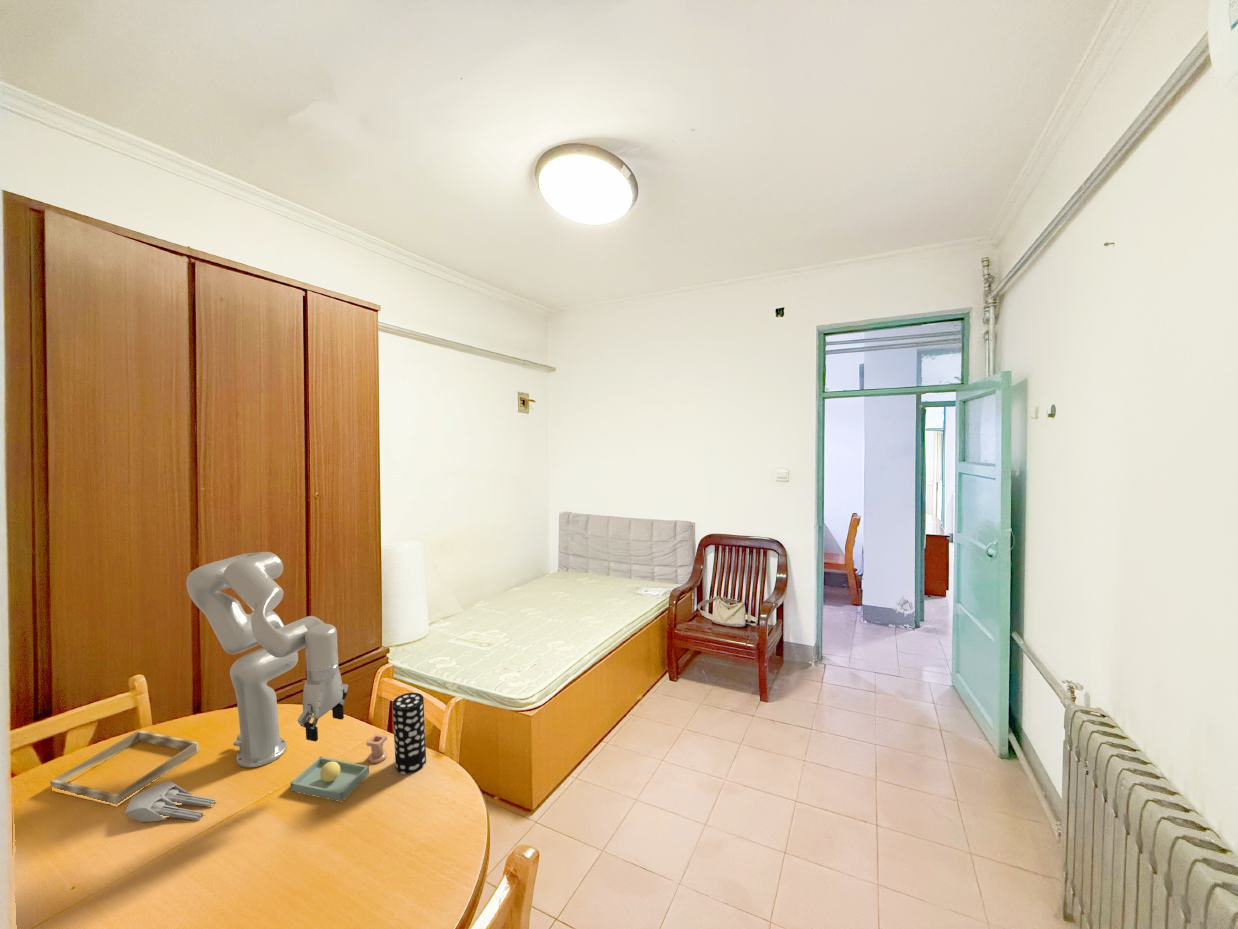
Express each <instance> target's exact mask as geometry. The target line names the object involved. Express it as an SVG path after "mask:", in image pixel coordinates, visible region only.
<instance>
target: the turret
mask: <svg viewBox="0 0 1238 929" xmlns="http://www.w3.org/2000/svg"><path fill="white" fill-rule="evenodd" d="M213 801H217V800H216V799H213V798H209V797H202V796H197V795H193V794H192V793H190V792H188V791H187V790H185V789H184V788H182V787H181V786H179V785H177V784H176V783H174V782H172V781H170V780H168V781H165V782H161V783H159V784H156V785H154V786H151V788H148V789H144V790H142V791H140V792H139V793H137V794H136V795H134V796H132V797H131V798H130V801H129V802H128V806H127V807H126V809H125V812H124V813H125V814H126V816H128V817H129V818H130V819H133V820H135V821H137V822H141V823H146V822H147V823H148V822H156V821H157V822H158V821H164V820H167V819H168V818H163V817H162V816H160V815H163V816H169V817H173V818H177V819H183V820H189V819H191V821H194V820H198V821H200V820H201V818H202V815H200V814H205V813H204V812H203V811H197V810H193V809H187V808H180V807H178V806H176V804H175V803H173V802H177V803H182V804H187V805H193V806H197V807H202V806H210V808H212V807H213V806H214V805H215V802H213ZM211 804H214V805H211ZM198 805H199V806H198ZM211 806H212V807H211ZM200 817H201V818H200Z"/></svg>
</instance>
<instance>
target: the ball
mask: <svg viewBox="0 0 1238 929" xmlns="http://www.w3.org/2000/svg"><path fill="white" fill-rule="evenodd" d="M339 774H340V765H339V764H338V763H337V762H333V761H332V762H328V763H326V764H325V765H324V766H323V767H322V769H321V771H320V777H321V779H322V780H323V781H325V782H332V781H334V780H335V779H336V778H337V777H338V776H339Z"/></svg>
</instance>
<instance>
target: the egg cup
mask: <svg viewBox="0 0 1238 929" xmlns="http://www.w3.org/2000/svg"><path fill="white" fill-rule="evenodd" d="M387 740H388V736H387V735H384V734H377V733H375V734H373V736H371V737H370V738H369V739H368V740H367V741H366V743H365V744H366V746H367V747H370V748H371V752H370V754H369V755H368V762H369V763H370V764H379V763H382V762H384V761H385V760H386V759H387V758H388V752H387V751H386V750H385V749H384V743H385V742H386V741H387Z"/></svg>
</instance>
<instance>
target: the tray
mask: <svg viewBox="0 0 1238 929" xmlns="http://www.w3.org/2000/svg"><path fill="white" fill-rule="evenodd" d="M332 761H333V762H337V763H338V764H339V765H340V774H339V776H338V777H337V778H336V779H335V780H334V781H332V782H325V781H323V780H322V779H321V777H320V771H321V769H322V767H323V766H324V765H325V764H326V763H328V762H332ZM369 775H370V766H369V765H365V764H360V763H359V764H358V763H354V762H349V761H344V760H338V759H334V758H328V757H324V756H319V757H318V758H317V759H316V760H315V761H314V762H312V763H311V764H310V765H309V766H308V767H307V768H306V769H305V770H303V771H302V772H301V773H300V774H299V775H298V776H297V777H296V778H295V779H293V780H292V781H291V782H290V791H291V792H293V791H295V792H294V793H298V792H300V793H299V794H302V793H305V794H304V795H307V794H309V795H308V796H311V795H315V796H314V797H316V796H319V797H318V798H321V797H323V798H322V799H325V798H329V799H328V800H330V799H333V800H332V801H335V800H338V801H337V802H339V801H343V800H344V799H345V798H348V797H349V795H350V794H351V793H352V792H353V791H354V790H356V788H357V787H359V785H360V784H361V783H362V782H363V781H364V780H366V778H367V777H368V776H369ZM345 800H346V799H345ZM345 800H344V801H345ZM344 801H343V802H344Z"/></svg>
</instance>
